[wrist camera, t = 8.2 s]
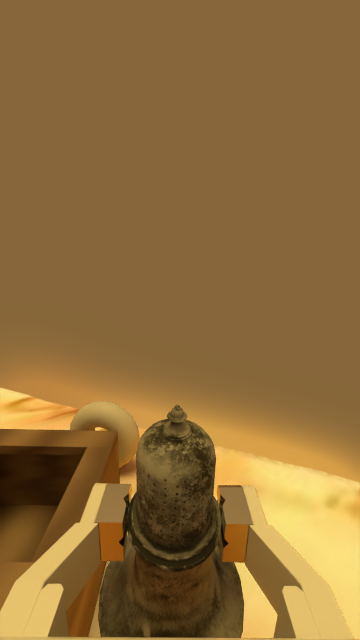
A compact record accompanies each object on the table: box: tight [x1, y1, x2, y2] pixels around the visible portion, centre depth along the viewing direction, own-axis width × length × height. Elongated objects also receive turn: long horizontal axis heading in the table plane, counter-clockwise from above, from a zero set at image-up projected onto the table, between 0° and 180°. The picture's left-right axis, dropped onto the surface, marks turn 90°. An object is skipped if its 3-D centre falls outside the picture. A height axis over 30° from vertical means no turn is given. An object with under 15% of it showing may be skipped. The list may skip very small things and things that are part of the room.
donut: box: [70, 401, 140, 468], centre depth 34 cm, size 10×4×10 cm, turn 80°
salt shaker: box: [98, 405, 244, 638], centre depth 10 cm, size 6×6×12 cm
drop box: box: [0, 429, 120, 637], centre depth 22 cm, size 15×15×10 cm
